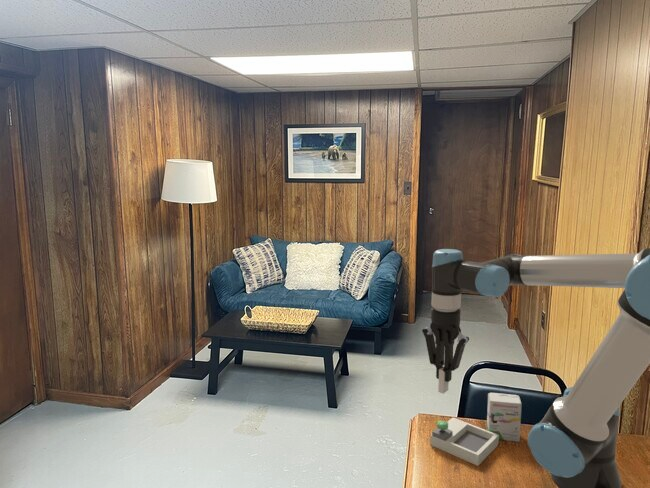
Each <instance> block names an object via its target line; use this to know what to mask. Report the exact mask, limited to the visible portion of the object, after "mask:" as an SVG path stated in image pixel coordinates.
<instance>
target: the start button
mask: <svg viewBox="0 0 650 488" xmlns="http://www.w3.org/2000/svg"><path fill="white" fill-rule="evenodd" d="M436 427H437V428H439V429H441V432H442V433H444V430H446V429H448V421H445V420H438V421H437V422H436Z"/></svg>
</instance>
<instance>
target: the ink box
mask: <svg viewBox="0 0 650 488" xmlns="http://www.w3.org/2000/svg"><path fill="white" fill-rule="evenodd" d="M522 406H523V405H522V401H521V398H520V396H519V395H517V394H510V393H509V394H508V393H501V392H500V393H499V392H488V393H487V412H486V413H487V414H486V430H487V431H490V432H492V433H495V434H498V435H499V440H500V441H510V442H520V440H521V439H520V437H521V421H522Z"/></svg>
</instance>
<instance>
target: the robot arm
mask: <svg viewBox="0 0 650 488" xmlns="http://www.w3.org/2000/svg"><path fill="white" fill-rule="evenodd" d="M463 256H464V254H463V251H461V250H459V249H453V248H441V249H437V250H435V251H434V252H433V255H432V265H431V276H432V277H431V279H432V283H431V284H432V285H431V286H432V288H431V303H430V304H431V309H430V310H431V312H430V313H431V315H430V320H431V322H430V323H429V324H430V325H429V326H427V327H425V328H423V329H422V330H421V332H422V333H423V336H424V339H425V343H426V350H427V354H428V361H429V364H430V365H433V366H435V370H436V371H435V377H436V379H438V388H437V389H438V393H441V394H446V393H447V392H448V391H449V385H450V384H449V383H450V381H452V378H453V377H452V374H453V373H452V372H454V371H455V370H457V369H458V368H460V364H461V360H462V358H463V355H464V351H465V347H466V344H467V343H468V342H469V341H470V338H469V336H465V335H464V334H463V333H462V329H461V327H460V324H461V309H460V308H461V306H462V304H461V303H462V291H465V292H470V293H473V294H477V295H482V296H485V297H493V298H501V297H503V296H504V295H505V293H506V292H507V291H508V288H509V287H510V286H537V287H538V286H541V287H542V286H544V287H571V288H573V287H574V288H576V287H578V288H605V289H606V288H608V289H612V288H613V289H624V290H623V291H622V293H621V294H620V296H619V298H618V299H617V306H618V308H619V310H620V313H619V314H618V315H617V317H616V319H615V321H614V322H613V324H612V325H611V327H610V329H609V330H608V332H607V333H606V335H605V336H604V337H603V339H602V341H601V343H600V344H599V345H598V347H597V349H596V350H595V352H594V353H593V354H592V357H591V358H590V360H589V361H588V363H587V365H586V366H585V367H584V369H583V370H582V371H581V373H580V375H579V376H578V378H577V379H576V381H575V383H574V384H573V385H572V386H570V387H567V388H565V390H564V392H563V396H561V397H560V396H558V397H557V398H556V399H555V400H554V401H553V402H552V404H551V406H550V407H549V408H548V410H547V412H546V413H545V414H544V417H543V418H542V419H541V420H540V421H539V422H538V423H535V424H534V425H533V426H532V427H531V429H530V431H529V433H528V435H527V444H528V447H529V449H530V451H531V454H532V456H533V458H534V459H535V460H536V462H537V463H538V464H539V466H541V467H542V468H544V470H546V471H547V472H549V473H550V477H551V479H552V481H553V482H554V483H555V484H556V485H557V486H558V487H559V488H622V480H621V475H620V473H619V469H618V466H617V465H618V464H617V462H616V453H617V452H616V451H617V441H618V433H619V432H618V431H619V422H620V421H619V420H620V416H621V413H620V405H621V404H622V403H623V401H624V400H625V398H626V397H627V396H628V394H629V393H630V392H631V390H632V389H633V387H634V386H635V385H636V383H637V382H638V380H639V379H640V378H641V376H642V375H643V373H644V372H645V371H646V369H647V368H648V367H649V365H650V248H649V247H648V248H642V249H641V250H640V251H639V252H637V253H597V254H596V253H595V254H594V253H593V254H591V253H590V254H556V255H555V254H554V255H553V254H552V255H551V254H549V255H548V254H547V255H543V254H542V255H521V254H517V253H516V254H507V255H504V256H501V257H498V258H494V259H491V260H487V261H483V262H476V261H469V260H465V259H464V257H463ZM455 340H457V341H456V342H457V344H456V346H455V350H454V345H455Z"/></svg>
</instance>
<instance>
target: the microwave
mask: <svg viewBox="0 0 650 488" xmlns="http://www.w3.org/2000/svg"><path fill="white" fill-rule="evenodd" d="M447 422H448V429H446V430H444V433H442V432H441V429H439V428H438V427H437V428H435V429H434V430H432V432H431V434H430V442H429V443H430V446H432V447H435V448H437V449H439V450H441V451H443V452H445V453H448V454H450V455H452V456H455V457H457V458H459V459H462V460H463V461H465V462H468V463H471V464H473V465H475V466H477V467H478V466H479V465H480V464H482V462H483V461H484V460H486V458H487V457H488V456H489V455H490V454H491V453H492V452H493V451H494V450H495V449H496V448H497V447H498V446H499V435H498V434H495V433H492V432H490V431H487V429H484V428H482V427H479V426H477V425H473V424H471V423H469V422H466V421H463V420H461V419H459V418H455V417H451V418H450V419H449V420H448V421H447Z"/></svg>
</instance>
